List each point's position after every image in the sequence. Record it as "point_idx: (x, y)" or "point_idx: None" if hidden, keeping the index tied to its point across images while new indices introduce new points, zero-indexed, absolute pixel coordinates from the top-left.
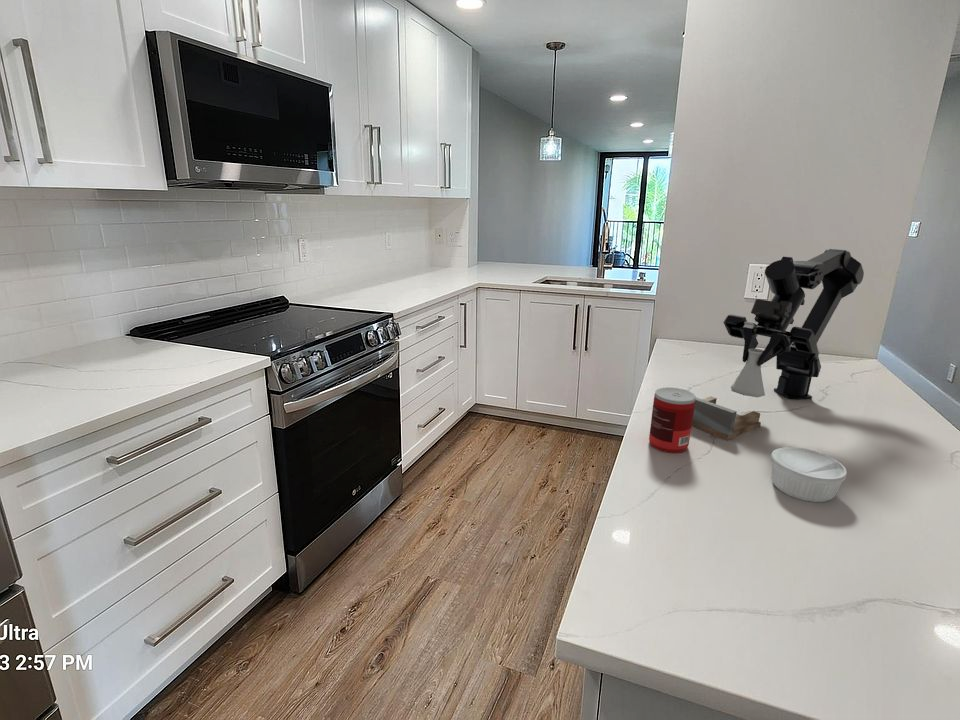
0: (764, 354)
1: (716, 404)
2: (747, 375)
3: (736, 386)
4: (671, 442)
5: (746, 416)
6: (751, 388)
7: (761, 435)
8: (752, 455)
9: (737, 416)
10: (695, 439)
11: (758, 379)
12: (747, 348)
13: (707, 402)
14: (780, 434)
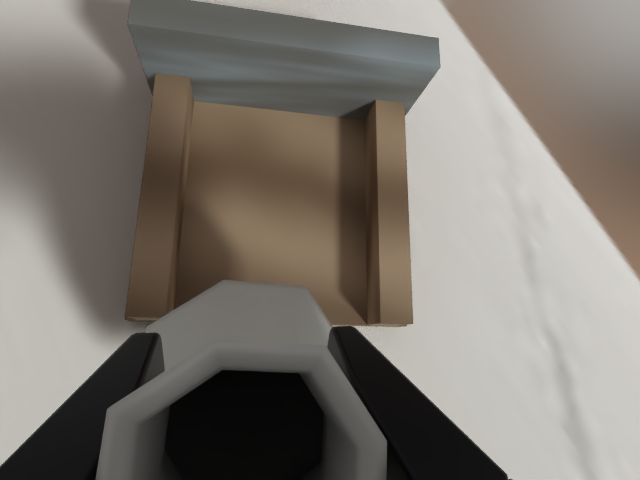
0: (48, 452)
1: (246, 38)
2: (240, 315)
3: (290, 291)
4: None
5: (155, 211)
6: (189, 313)
7: (83, 229)
8: (30, 25)
9: None
10: (237, 4)
11: None
12: (414, 452)
13: (288, 31)
14: (22, 315)
